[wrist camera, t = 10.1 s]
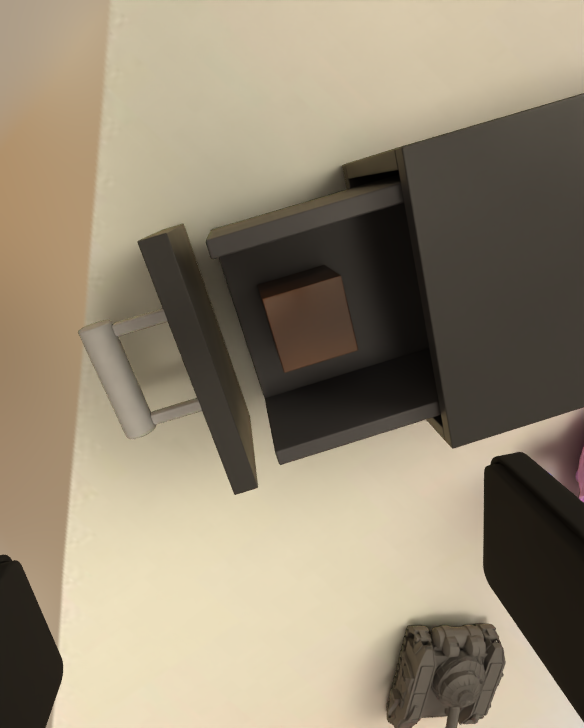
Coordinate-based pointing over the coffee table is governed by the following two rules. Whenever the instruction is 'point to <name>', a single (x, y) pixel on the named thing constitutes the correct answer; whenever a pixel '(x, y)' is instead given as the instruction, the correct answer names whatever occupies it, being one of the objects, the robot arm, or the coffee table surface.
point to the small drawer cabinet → (497, 264)
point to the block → (308, 317)
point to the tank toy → (446, 675)
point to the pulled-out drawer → (281, 390)
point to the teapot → (581, 476)
